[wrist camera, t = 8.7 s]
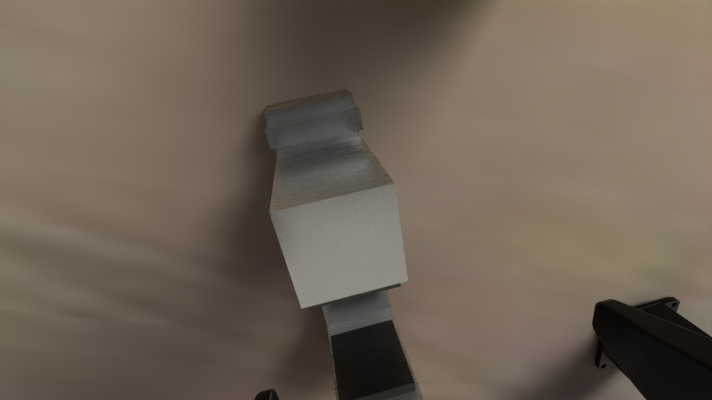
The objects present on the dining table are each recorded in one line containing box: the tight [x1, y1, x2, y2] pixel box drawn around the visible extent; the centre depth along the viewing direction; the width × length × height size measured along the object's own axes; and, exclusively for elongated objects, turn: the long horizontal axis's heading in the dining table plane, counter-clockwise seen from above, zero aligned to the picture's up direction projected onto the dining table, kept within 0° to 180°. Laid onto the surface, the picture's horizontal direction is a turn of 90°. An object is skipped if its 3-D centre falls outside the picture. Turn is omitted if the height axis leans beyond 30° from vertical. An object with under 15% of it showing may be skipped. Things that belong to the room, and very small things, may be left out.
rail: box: [264, 89, 424, 400], centre depth 17 cm, size 18×4×8 cm, turn 10°
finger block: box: [269, 136, 408, 310], centre depth 14 cm, size 5×4×6 cm
